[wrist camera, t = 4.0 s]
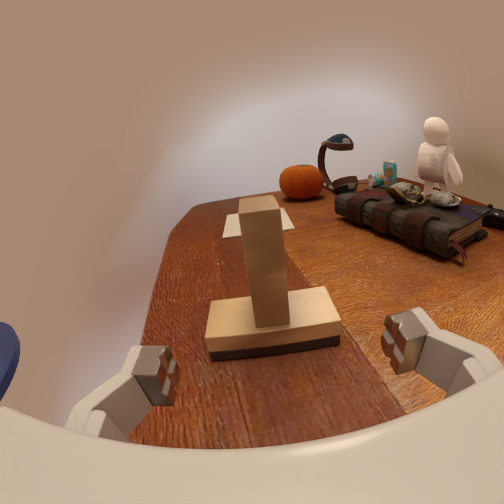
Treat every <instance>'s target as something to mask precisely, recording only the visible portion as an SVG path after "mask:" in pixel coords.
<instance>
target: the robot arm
mask: <svg viewBox="0 0 504 504" xmlns="http://www.w3.org/2000/svg"><path fill="white" fill-rule="evenodd" d="M384 325H385V327H386V329H385V330H384V331H383V333H382V337H381V345H382V349H383V352H384V354H385V356H387V357H389V358H391V361H390V365H391V367H392V368H393V370H394V372H395V374H396V375H399V374H402V373H406V372H409V371H412V370H415V371H416V372H417V373H419V374H420V375H422V376H423V377H425V378H426V379H428V380H429V381H431V382H432V383H434V384H435V385H437V386H439V387H440V388H442V389H443V390H445V391H446V392H447V393H446V395H445V397H444V399H443V400H441V401H439V402H437V403H435V404H432V405H430V406H428V407H425V408H423V409H420V410H418V411H415V412H413V413H410V414H408V415H405V416H402V417H399V418H396V419H394V420H391V421H388V422H385V423H381V424H378V425H375V426H372V427H368V428H365V429H361V430H357V431H354V432H350V433H346V434H342V435H337V436H333V437H328V438H323V439H318V440H313V441H307V442H301V443H294V444H287V445H279V446H270V447H259V448H245V449H182V448H168V447H157V446H148V445H140V444H133V443H132V442H131V441H130V440H129V439H128V438H127V436H128V435H129V434H130V432H131V431H132V430H133V429H134V428H135V427H136V426H137V425H138V424H139V423H140V421H141V420H142V419H143V418H144V417H145V416H146V415H147V414H148V413H149V411H150V410H151V409H152V408H153V406H174V402H175V398H176V391H175V389H174V388H175V387H176V386H177V385H178V384H179V379H180V375H179V367H178V364H177V362H176V361H175V360H174V359H172V358H171V357H172V354H173V353H172V350H171V348H170V347H169V346H167V345H162V346H132V347H131V348H130V350H129V352H128V354H127V356H126V359H125V361H124V363H123V365H122V367H121V370H120V372H119V374H115V375H114V376H112V377H111V378H110V379H108V380H107V381H106V382H104V383H103V384H101V385H100V386H99V387H98V388H96V389H95V390H94V391H92V392H91V393H89V394H88V395H87V396H85V397H84V398H83V399H81V400H80V401H79V402H77V403H76V404H75V405H74V406H73V408H72V411H71V412H70V415H69V417H68V419H67V422H66V424H65V426H64V428H62V427H59V426H56V425H53V424H50V423H47V422H44V421H41V420H38V419H35V418H33V417H30V416H28V415H25V414H23V413H20V412H18V411H16V410H14V409H11V408H9V407H6V406H2V407H0V504H504V366H503V365H502V363H501V362H500V361H499V360H498V358H497V357H496V356H495V355H494V354H493V352H492V351H491V350H490V349H489V348H488V347H486V346H484V345H481V344H479V343H476V342H474V341H471V340H469V339H466V338H464V337H461V336H459V335H456V334H454V333H451V332H449V331H446V330H444V329H442V330H440V329H439V328H438V327H437V325H436V324H435V323H434V322H433V321H432V320H431V318H430V317H429V316H428V315H427V314H426V313H425V311H424V310H423V309H422V308H420V307H417V308H413V309H410V310H407V311H403V312H399V313H396V314H392V315H388V316H386V318H385V320H384Z"/></svg>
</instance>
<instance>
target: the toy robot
mask: <svg viewBox="0 0 504 504" xmlns="http://www.w3.org/2000/svg"><path fill="white" fill-rule="evenodd" d="M423 132H424V136H425V140H426V141H427V142H428V143H425V142H424V143H422V144H421V146H420V148H419V152H418V160H417V162H416V164H415V167H414V171H413V173H414V176H415V177H416V176H420V178H421V179H423V180H425V184H424V191H423V192H422V194H425V195H428V194H436V193H439V191H437V190H433V185H434V183H435V182H437V183H439V185H440V188H441V192H447V193H450V188H449V185H451V184H452V183H453V182H454V183H455V184H456V185H457V186H461V185H462V182H463V176H462V173H461V170H460V167H459V165H458V164H457V162H456V160H455V155H454V150H453V148H452V147H451V146H448V145H446V144H449V143H450V130H449V127H448V125H447V124H446V122H445V121H444V120H442V119H440V118H438V117H431V118H429V119H427V120H426V121H425V123H424V127H423ZM458 198H459V197H458ZM459 201H460V202H461V198H459Z"/></svg>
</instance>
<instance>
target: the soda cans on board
mask: <svg viewBox="0 0 504 504" xmlns="http://www.w3.org/2000/svg"><path fill="white" fill-rule="evenodd" d="M396 170H397V168H396V164H395V161H389V160H385V161H384V163H383V173H379V174H372V175H369V176H368V183H371V184H369V185H366V186H365V190H375V189H379V186H382V185H386V184H390V183H396V184H397V171H396Z"/></svg>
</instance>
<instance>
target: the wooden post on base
mask: <svg viewBox="0 0 504 504" xmlns="http://www.w3.org/2000/svg"><path fill="white" fill-rule="evenodd" d="M238 216H239V223H240V230H241V236H242V243H243V249H244V256H245V262H246V269H247V275H248V282H249V288H250V294H251V297H242V298H234V299H225V300H216V301H211V305H210V311H209V317H208V322H207V328H206V334H205V340H206V344H207V347H208V350H209V353H210V356H211V359H212V361H219V360H232V359H243V358H253V357H262V356H270V355H278V354H285V353H292V352H298V351H305V350H311V349H317V348H322V347H328V346H333V345H338V344H340V334H341V321H342V320H341V318H340V316H339V314H338V312H337V310H336V308H335V306H334V304H333V302H332V300H331V298H330V296H329V294H328V292H327V290H326V288H325V286H323V287H316V288H309V289H303V290H296V291H289V292H288V286H287V274H286V262H285V250H284V239H283V229H282V219H281V209H280V207H279V205H278V203H277V201H276V199H275V197H274V196H273V195H269V196H261V197H253V198H246V199H240V200H239V211H238Z"/></svg>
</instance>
